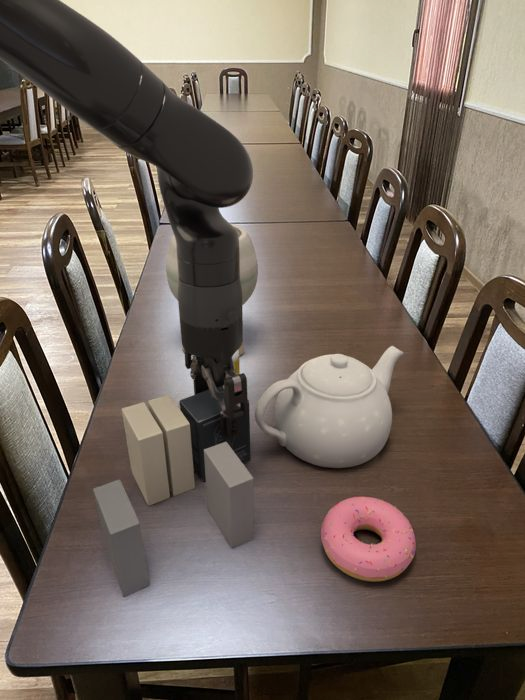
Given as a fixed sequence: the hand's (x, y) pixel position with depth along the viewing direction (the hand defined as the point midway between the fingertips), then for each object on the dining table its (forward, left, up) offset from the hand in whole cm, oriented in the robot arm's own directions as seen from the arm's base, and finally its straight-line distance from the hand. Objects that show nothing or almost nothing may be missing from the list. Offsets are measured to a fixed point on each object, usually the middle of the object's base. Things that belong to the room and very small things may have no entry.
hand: (215, 417), depth 72 cm
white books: (-8, 0, -8) cm, 11 cm away
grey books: (-10, -11, -8) cm, 17 cm away
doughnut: (+9, -22, -8) cm, 25 cm away
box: (0, 0, -8) cm, 8 cm away
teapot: (+17, -3, -8) cm, 19 cm away
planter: (+13, +29, -8) cm, 33 cm away
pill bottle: (+7, +14, -8) cm, 17 cm away
